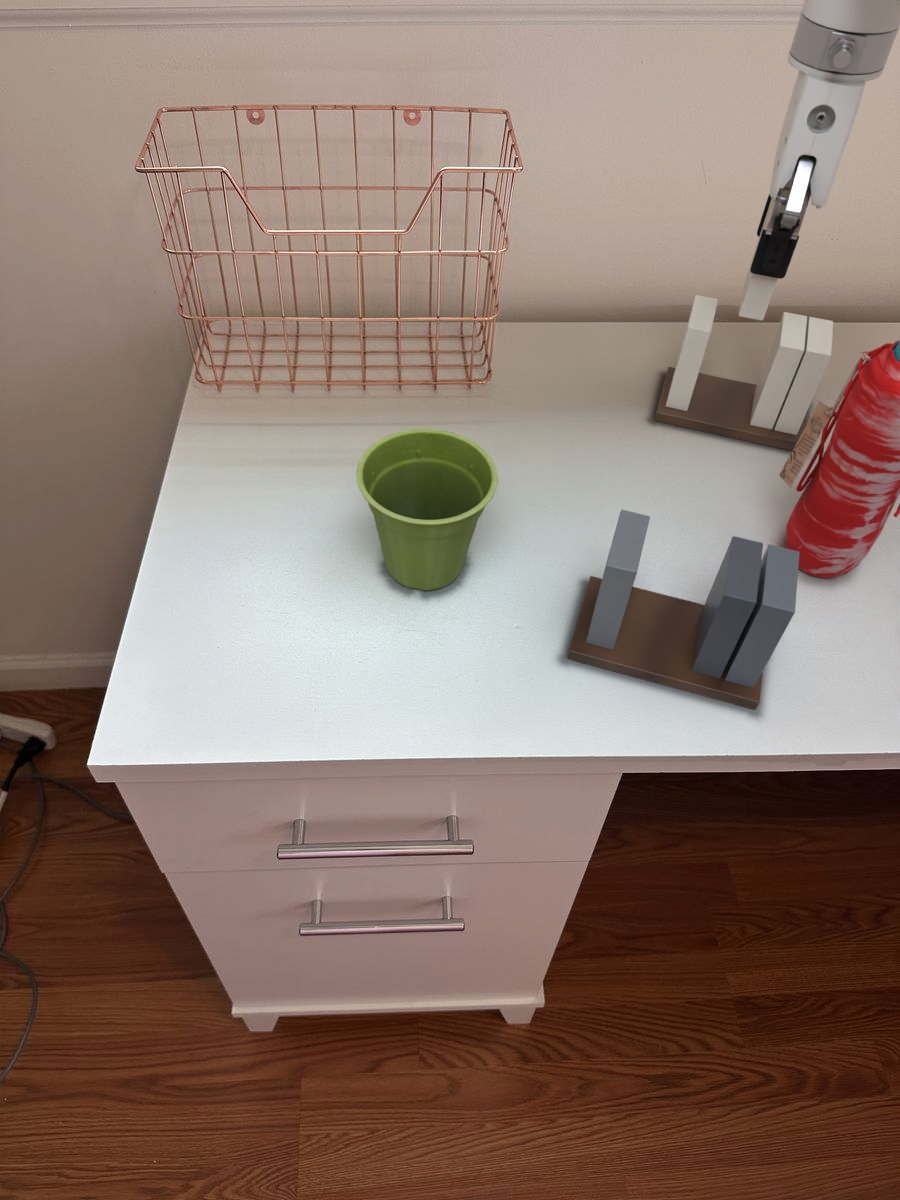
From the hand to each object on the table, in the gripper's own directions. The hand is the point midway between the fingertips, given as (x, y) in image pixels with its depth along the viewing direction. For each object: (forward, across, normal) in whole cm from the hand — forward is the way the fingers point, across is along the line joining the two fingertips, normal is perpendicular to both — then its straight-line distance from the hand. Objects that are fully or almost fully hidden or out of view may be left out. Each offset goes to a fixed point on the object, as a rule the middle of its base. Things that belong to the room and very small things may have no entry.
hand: (770, 254), depth 82 cm
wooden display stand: (+18, 0, -2) cm, 18 cm away
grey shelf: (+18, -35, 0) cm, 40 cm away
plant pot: (+19, -33, +24) cm, 45 cm away
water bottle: (+19, -19, -10) cm, 29 cm away
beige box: (+5, 0, 0) cm, 5 cm away
